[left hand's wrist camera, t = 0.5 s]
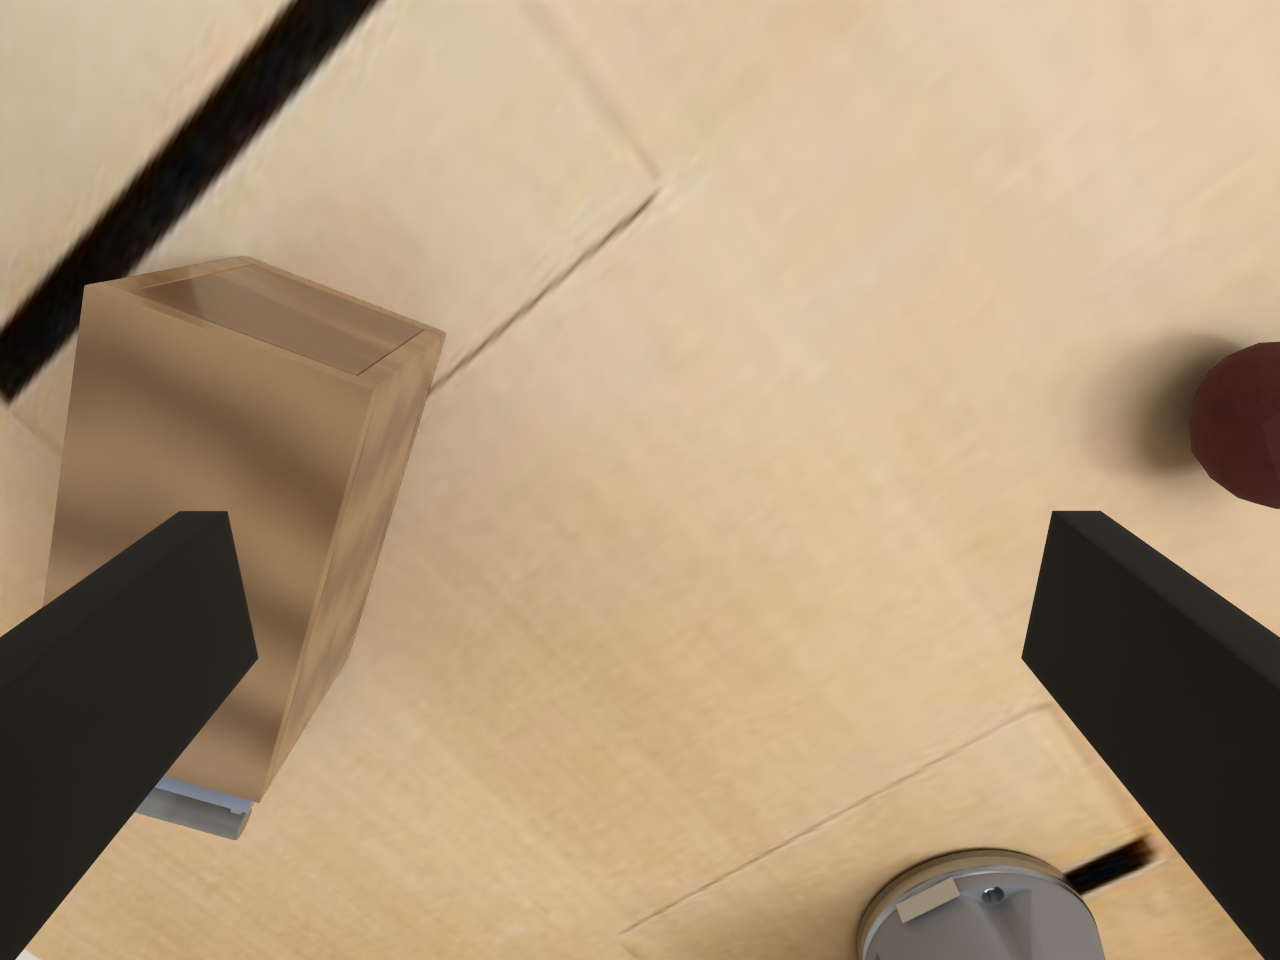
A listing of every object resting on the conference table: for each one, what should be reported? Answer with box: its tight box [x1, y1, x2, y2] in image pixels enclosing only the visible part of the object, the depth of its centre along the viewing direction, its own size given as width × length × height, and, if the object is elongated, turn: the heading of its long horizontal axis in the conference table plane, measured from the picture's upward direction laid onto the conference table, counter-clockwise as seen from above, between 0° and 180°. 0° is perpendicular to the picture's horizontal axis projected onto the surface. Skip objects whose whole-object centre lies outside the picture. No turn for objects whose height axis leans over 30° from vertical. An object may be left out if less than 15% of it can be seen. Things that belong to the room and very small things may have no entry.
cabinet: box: [44, 256, 446, 803], centre depth 35 cm, size 20×10×11 cm, turn 159°
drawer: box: [135, 776, 254, 840], centre depth 37 cm, size 25×9×9 cm, turn 159°
